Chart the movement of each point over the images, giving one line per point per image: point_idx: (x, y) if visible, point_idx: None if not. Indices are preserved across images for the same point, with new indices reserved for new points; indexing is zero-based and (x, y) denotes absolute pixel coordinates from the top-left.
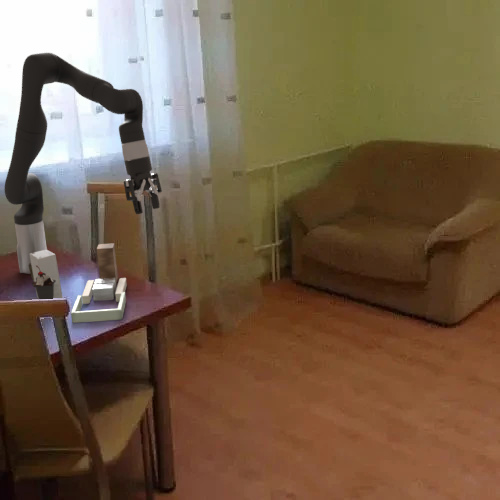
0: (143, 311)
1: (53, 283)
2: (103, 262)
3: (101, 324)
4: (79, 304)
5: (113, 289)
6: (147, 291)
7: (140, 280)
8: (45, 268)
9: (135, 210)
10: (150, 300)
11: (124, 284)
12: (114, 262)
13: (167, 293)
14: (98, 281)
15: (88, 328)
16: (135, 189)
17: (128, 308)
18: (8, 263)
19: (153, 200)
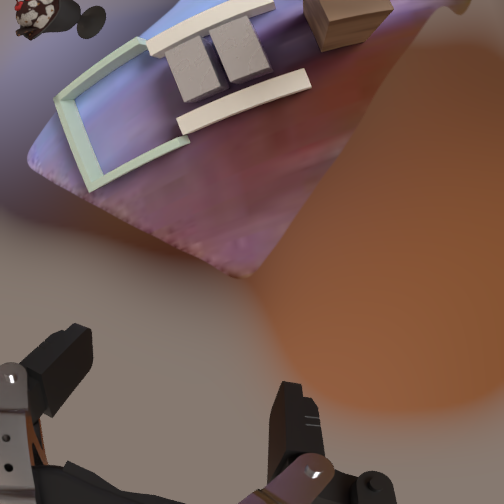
0: (148, 212)
1: (35, 37)
2: (309, 3)
3: None
4: (110, 65)
5: (209, 93)
6: (272, 168)
7: (358, 114)
8: None
9: (51, 342)
10: (212, 201)
11: (257, 104)
12: (333, 35)
13: (267, 227)
14: (226, 33)
15: (58, 145)
16: (30, 469)
17: (153, 170)
18: None
19: (276, 439)
